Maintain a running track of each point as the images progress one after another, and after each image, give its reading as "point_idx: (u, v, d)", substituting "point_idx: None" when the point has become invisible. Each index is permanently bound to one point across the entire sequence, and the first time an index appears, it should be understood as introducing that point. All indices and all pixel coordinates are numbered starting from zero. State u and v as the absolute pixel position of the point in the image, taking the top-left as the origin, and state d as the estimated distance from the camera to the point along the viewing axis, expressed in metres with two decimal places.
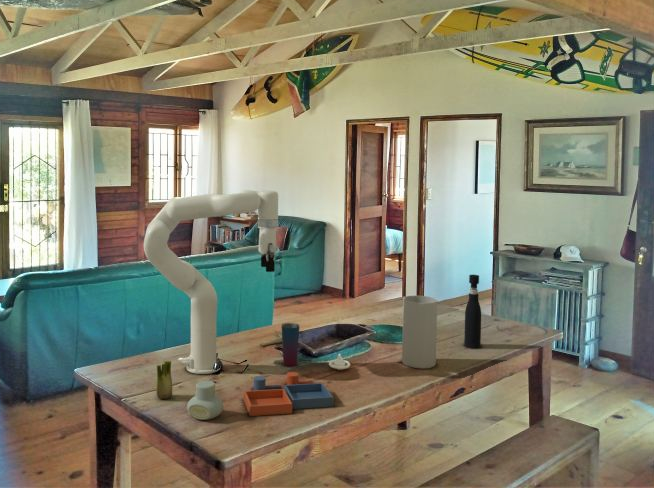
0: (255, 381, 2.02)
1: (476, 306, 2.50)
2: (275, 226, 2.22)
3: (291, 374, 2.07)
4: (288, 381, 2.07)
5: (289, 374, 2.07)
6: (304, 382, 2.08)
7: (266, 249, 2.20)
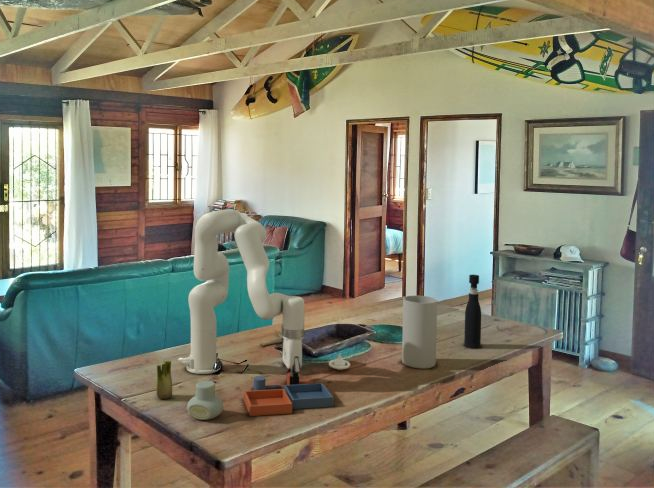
0: (255, 381, 2.02)
1: (476, 306, 2.50)
2: (301, 337, 2.05)
3: None
4: (288, 381, 2.07)
5: (289, 374, 2.07)
6: (304, 382, 2.08)
7: (292, 363, 2.02)
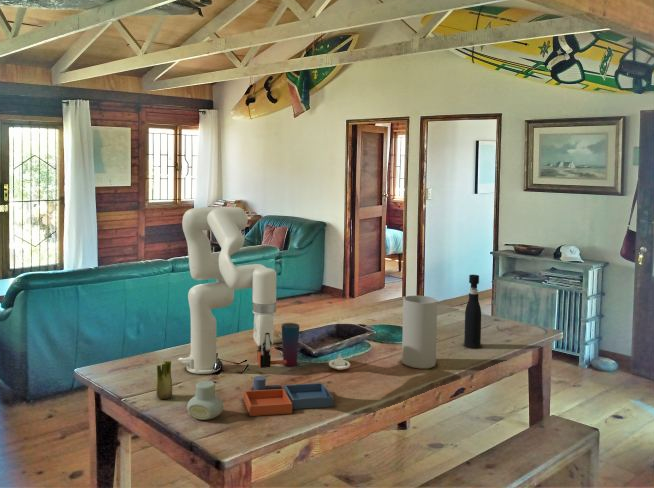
0: (255, 381, 2.02)
1: (476, 306, 2.50)
2: (273, 311, 1.88)
3: None
4: (259, 360, 1.90)
5: (260, 353, 1.91)
6: (276, 361, 1.91)
7: (262, 340, 1.85)
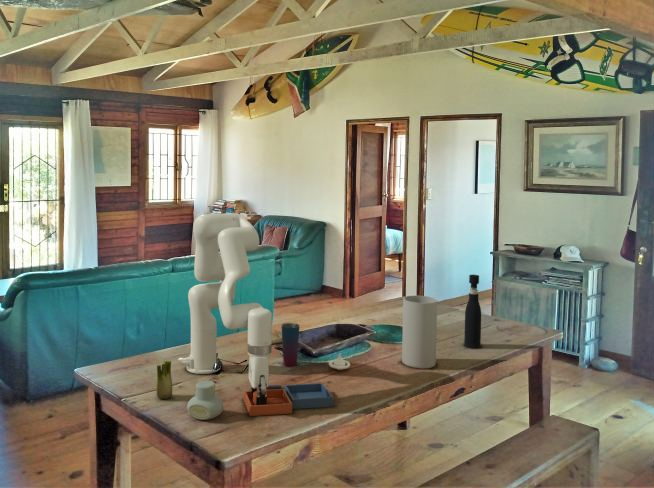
0: None
1: (476, 306, 2.50)
2: (268, 353, 1.86)
3: None
4: (254, 401, 1.88)
5: (255, 393, 1.89)
6: (272, 402, 1.90)
7: (257, 382, 1.84)
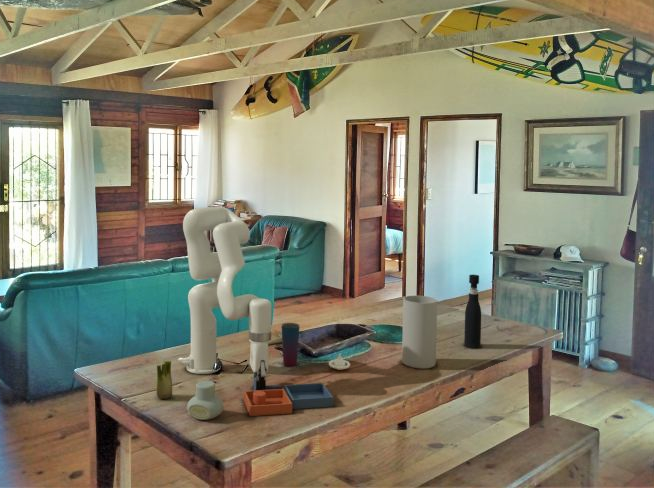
0: (255, 381, 2.02)
1: (476, 306, 2.50)
2: (268, 340, 2.01)
3: (258, 393, 1.89)
4: (254, 401, 1.88)
5: (255, 393, 1.89)
6: (272, 402, 1.90)
7: (258, 367, 1.98)
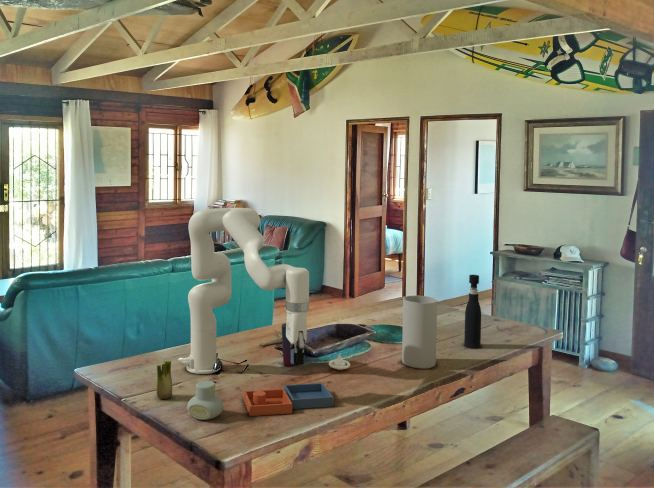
0: (292, 353, 1.94)
1: (476, 306, 2.50)
2: (306, 310, 1.92)
3: (258, 393, 1.89)
4: (254, 401, 1.88)
5: (255, 393, 1.89)
6: (272, 402, 1.90)
7: (296, 338, 1.89)
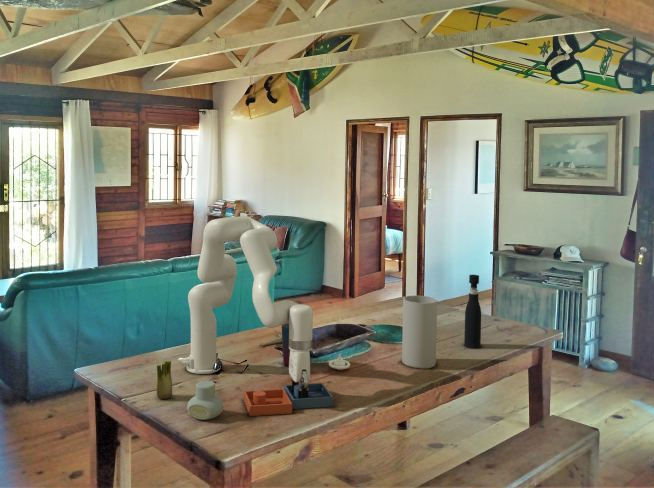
0: (296, 390, 1.93)
1: (476, 306, 2.50)
2: (309, 348, 1.92)
3: (258, 393, 1.89)
4: (254, 401, 1.88)
5: (255, 393, 1.89)
6: (272, 402, 1.90)
7: (299, 376, 1.89)
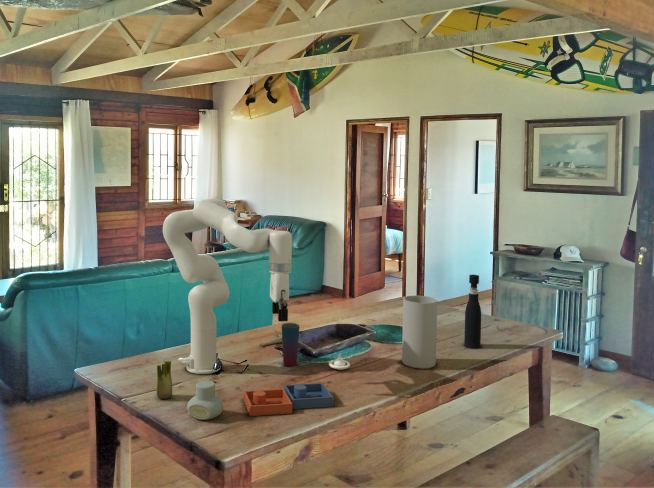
0: (296, 390, 1.93)
1: (476, 306, 2.50)
2: (288, 270, 2.02)
3: (258, 393, 1.89)
4: (254, 401, 1.88)
5: (255, 393, 1.89)
6: (272, 402, 1.90)
7: (278, 296, 1.99)
